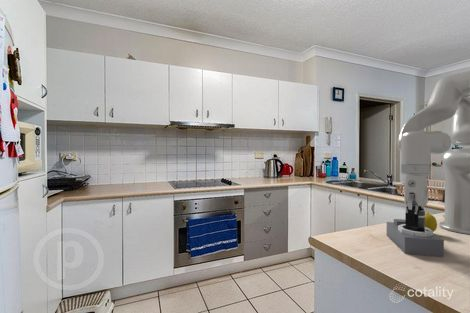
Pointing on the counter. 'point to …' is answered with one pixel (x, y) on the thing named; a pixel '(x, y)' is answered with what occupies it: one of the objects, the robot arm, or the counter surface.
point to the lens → (419, 222)
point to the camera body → (415, 239)
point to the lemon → (430, 222)
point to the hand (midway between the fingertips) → (414, 222)
